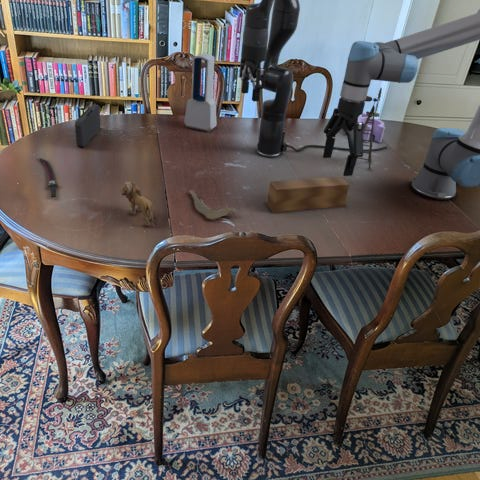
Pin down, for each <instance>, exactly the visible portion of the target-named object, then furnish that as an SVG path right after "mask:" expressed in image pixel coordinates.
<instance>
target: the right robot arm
mask: <svg viewBox="0 0 480 480" xmlns="http://www.w3.org/2000/svg"><path fill="white" fill-rule="evenodd" d="M477 41H480V8H479V9H478V10H477V12H476V13H473V14H470V15H467V16H463V17H461V18H458V19H454V20H452V21H448V22H445V23H442V24H438V25H437V26H436V25H435V26H433V27H431V28H427V29H424V30H420V31H418V32H415V33H412V34H409V35H406V36H402V37H400V38H397V39H394V40H390V41H387V42H381V41H375V42H371V41H366V40H365V41H364V40H357V41H354V42H353V43H352V44H351V47H350V50H349V53H348V57H347V62H346V68H345V72H344V78H343V81H342V85H341V89H340V94H339V96H340V98H338V103H337V106H336V107H337V108H336V107H335V108H333V111H332V114H331V117H329V120H328V121H327V124H326V126H325V128H324V129H323V134H325V138H326V139H325V143H324V146H325V148H323V153H322V158H324V159H330V158H332V155H333V151H334V149H333V147H335V141H336V136H337V134H338V133H339V132H340V131H344V133H345V136H347V144H348V149H349V150H348V151H349V154H347V158H346V162H345V165H344V170H343V174H342V176H344V177H352V176H353V174H354V170H355V167H356V165H357V160H358V159H357V158H364V153H363V152H364V151H363V150H364V146H363V144H364V141H363V127H364V123H363V122H358V117H359V116H360V117H361V116H362V113H364V109H365V105H366V101H365V100H366V97H367V96H368V92H369V88H370V85H371V82H372V81H382V82H389V83H398V84H408V83H409V84H410V83H411V82H412V81H414V79H415V78H416V75H417V73H418V68H419V61H418V60H420V59H423V58H426V57H429V56H432V55H436V54H439V53H442V52H445V51H449V50H451V49H455V48H458V47H461V46H464V45H467V44H471V43H474V42H477ZM353 151H354V152H353ZM457 184H458V185H459V186H461V187H464V188H475V187H477V186H479V185H480V104H478V108H477V109H476V112H475V113H474V116H473V118H472V120H471V122H470V124H469V126H468V128H467V130H464V129H458V128H453V127H438V128H437V129H435V131H434V132H433V134H432V137H431V140H430V143H429V146H428V150H427V152H426V156H425V158H424V162H423V165H422V167H421V169H419V171H418V173H417V174H416V176H415V177H414V178H413V180H412V182H411V185H410V187H411V189H412V190H413V191H414V192H415V193H416V194H418V195H420V196H422V197H424V198H427V199H431V200H436V201H449V200H453V199H454V198H455V196H456V193H457V187H456V186H457Z"/></svg>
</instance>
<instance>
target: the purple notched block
mask: <svg viewBox="0 0 480 480" xmlns="http://www.w3.org/2000/svg"><path fill="white" fill-rule="evenodd" d="M367 117H368V116H367V115H366V112H363V113H362V114H361V115H360V116H359V117H358V122H363V123H364V124H365V122H366V118H367ZM372 118H373V117H372ZM372 118H370V119H371V120H372ZM368 122H372V121H370V120H369V121H368ZM371 128H372V123H368V124H367V126H366V129H368V130H371ZM385 129H386V127H385V122H384V121H383V120H380V119H377V118H374V124H373V136H374V139H373V140H374V142H376V143H382V140H383V137H384V132H385ZM364 133H370V134H371V131H367V130H365V131H364ZM370 137H371V135H369V134H363V140H370ZM368 142H369V141H363V143H368Z"/></svg>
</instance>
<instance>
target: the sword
mask: <svg viewBox="0 0 480 480" xmlns="http://www.w3.org/2000/svg"><path fill="white" fill-rule="evenodd" d="M40 161H41V162H42V163H43V165H44V166H45V169H46V173H47V176H48V185H47V188H50V198H56V197H57V189H56V188H57V187H59V185H58V184H57V183H56V180H55V176H54V172H53V169H52V167H51V164H50V163H49V161H48V160H46V159H43V158H40Z"/></svg>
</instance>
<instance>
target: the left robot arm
mask: <svg viewBox="0 0 480 480" xmlns="http://www.w3.org/2000/svg"><path fill="white" fill-rule="evenodd" d="M271 11H272V12H271ZM300 12H301V6H300V0H260V2H258V3H250V4H247V6H246V8H245V16H244V28H243V33H242V43H241V44H242V45H241V56H240V57H241V58H240V64H239V65H240V66H239V74H238V76H239V78H241V79H240V80H241V91H240V92H241V93H242V94H248V93H249V89H250V83H251V85H252V93H251V101H252V102H259V101H260V95H261V90H263V89H264V90H266V91H268V92H271V93H274V94H275V95H274V98H273V99H266V100H264V101H263V102H262V105H261V114H260V123H259V131H258V138H257V139H258V140H257V143H256V153H257V154H258V155H259V156H262V157H264V158H265V157H266V158H277V157H279V156H281V155H282V154H283V152H287V149H288V148H289V149H292V150H293V151H294V152H301V151H303V150H304V149H305V148H321V149H322V148H323V149H325V145H321V144H320V145H319V144H307V145H303V146H302V147H301V148H299V149H296V147H294V146H292V145H288V143H287V142H285V136H286V130H284V128H285V122H286V115H287V108H288V106H289V103H290V99H291V93H292V89H293V84H294V72H293V70H292V69H290V68H287V67H284V66H280V65H279V60H280V56H281V53H282V51H283V49H284V47H285V46H286V45H287V43H288V42H289V41H290V39H292V37H293V35H294V34H295V32H296V31H297V28H298V24H299V17H300ZM270 15H271V19H270ZM270 20H271V21H270ZM269 25H270V26H269ZM269 27H270V28H269ZM262 62H263V65H262ZM387 148H388V145H386V146H382V147H378V148H372V151H371V152H375V151H382V150H384V149H387ZM333 150H341V151H349V147H348V148H346V147H338V146H334V147H333ZM363 152H369V148H368V149H367V148H366V149H363Z"/></svg>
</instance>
